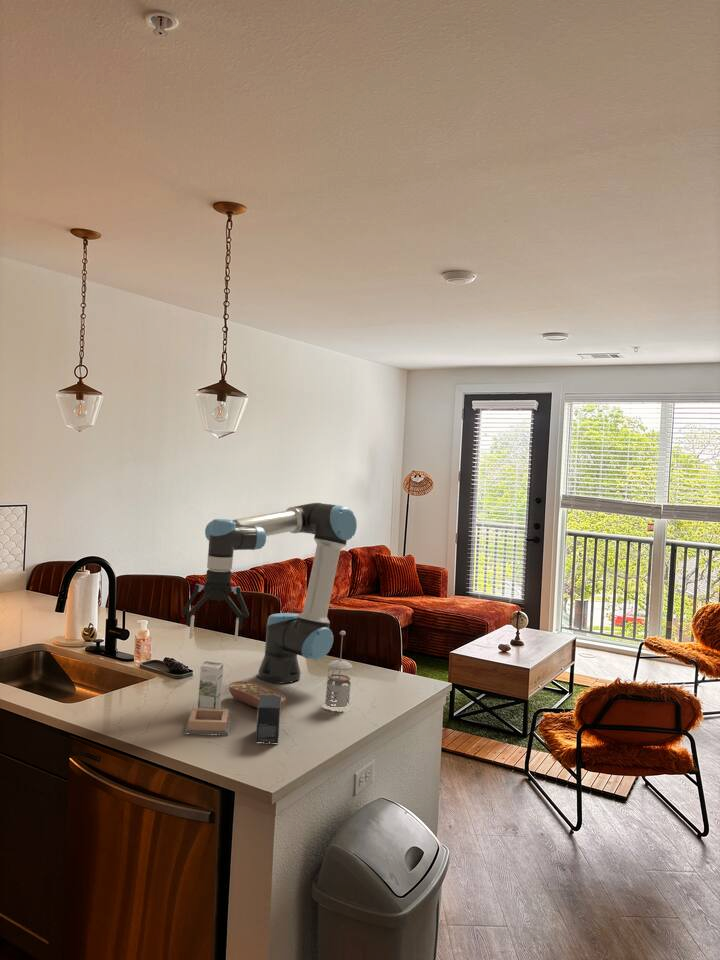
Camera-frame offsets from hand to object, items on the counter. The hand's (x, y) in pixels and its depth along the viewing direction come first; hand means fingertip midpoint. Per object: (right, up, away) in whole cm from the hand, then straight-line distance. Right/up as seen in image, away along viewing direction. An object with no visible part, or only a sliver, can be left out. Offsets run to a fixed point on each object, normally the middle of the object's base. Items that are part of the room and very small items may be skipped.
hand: (213, 638), depth 221 cm
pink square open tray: (+1, -23, -13) cm, 26 cm away
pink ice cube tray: (+12, -24, +8) cm, 28 cm away
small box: (+19, -24, -17) cm, 35 cm away
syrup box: (-2, -22, +1) cm, 22 cm away
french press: (+37, -25, +14) cm, 47 cm away
